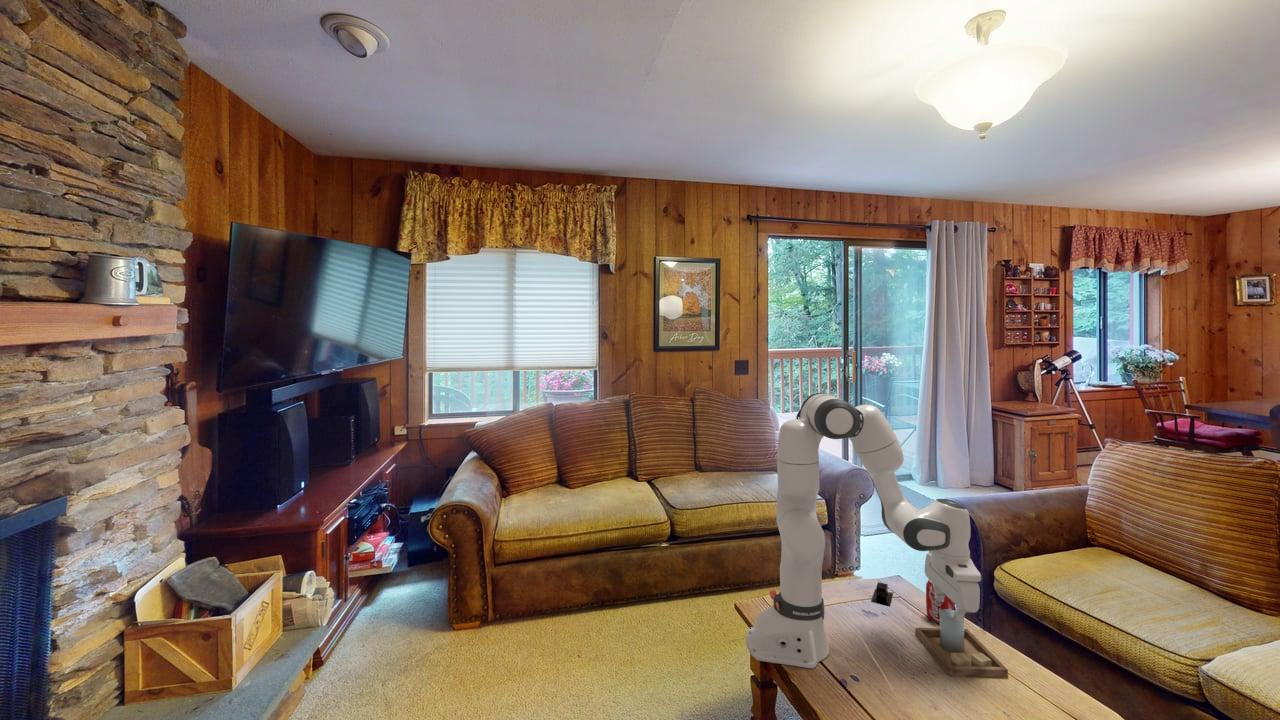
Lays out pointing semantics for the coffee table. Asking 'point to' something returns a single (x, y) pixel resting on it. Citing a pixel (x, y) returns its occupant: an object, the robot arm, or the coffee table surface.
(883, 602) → the black angled block
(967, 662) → the block
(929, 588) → the soda can
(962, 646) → the glossy pale blue cylinder
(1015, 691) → the coffee table surface
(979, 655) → the block
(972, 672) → the tray
